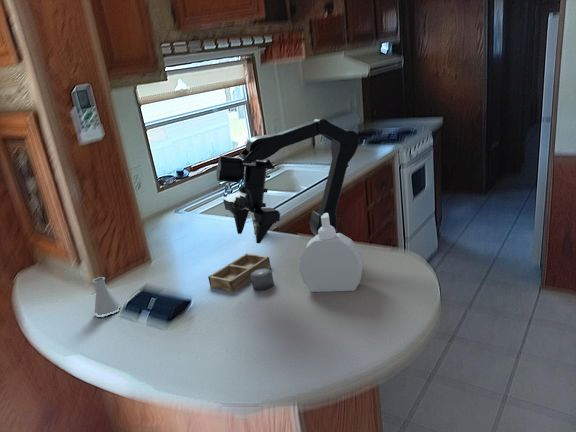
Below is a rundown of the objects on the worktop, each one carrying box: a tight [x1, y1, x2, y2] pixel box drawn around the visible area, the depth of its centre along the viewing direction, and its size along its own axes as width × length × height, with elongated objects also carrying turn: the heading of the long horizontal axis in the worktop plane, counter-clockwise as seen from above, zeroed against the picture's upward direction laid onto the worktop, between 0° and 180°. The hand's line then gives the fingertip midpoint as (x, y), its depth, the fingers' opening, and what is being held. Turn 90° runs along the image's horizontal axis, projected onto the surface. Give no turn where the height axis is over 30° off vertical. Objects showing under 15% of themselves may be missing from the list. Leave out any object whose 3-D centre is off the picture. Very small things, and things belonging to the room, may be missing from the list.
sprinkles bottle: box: [250, 209, 257, 235], centre depth 173 cm, size 5×5×13 cm
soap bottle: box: [299, 213, 364, 293], centre depth 122 cm, size 16×5×20 cm, turn 78°
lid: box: [250, 268, 275, 292], centre depth 131 cm, size 6×6×4 cm
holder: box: [207, 253, 271, 293], centre depth 139 cm, size 9×17×3 cm, turn 145°
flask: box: [91, 276, 120, 315], centre depth 129 cm, size 7×7×10 cm
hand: (248, 238), depth 132 cm, fingers open, 9 cm apart
